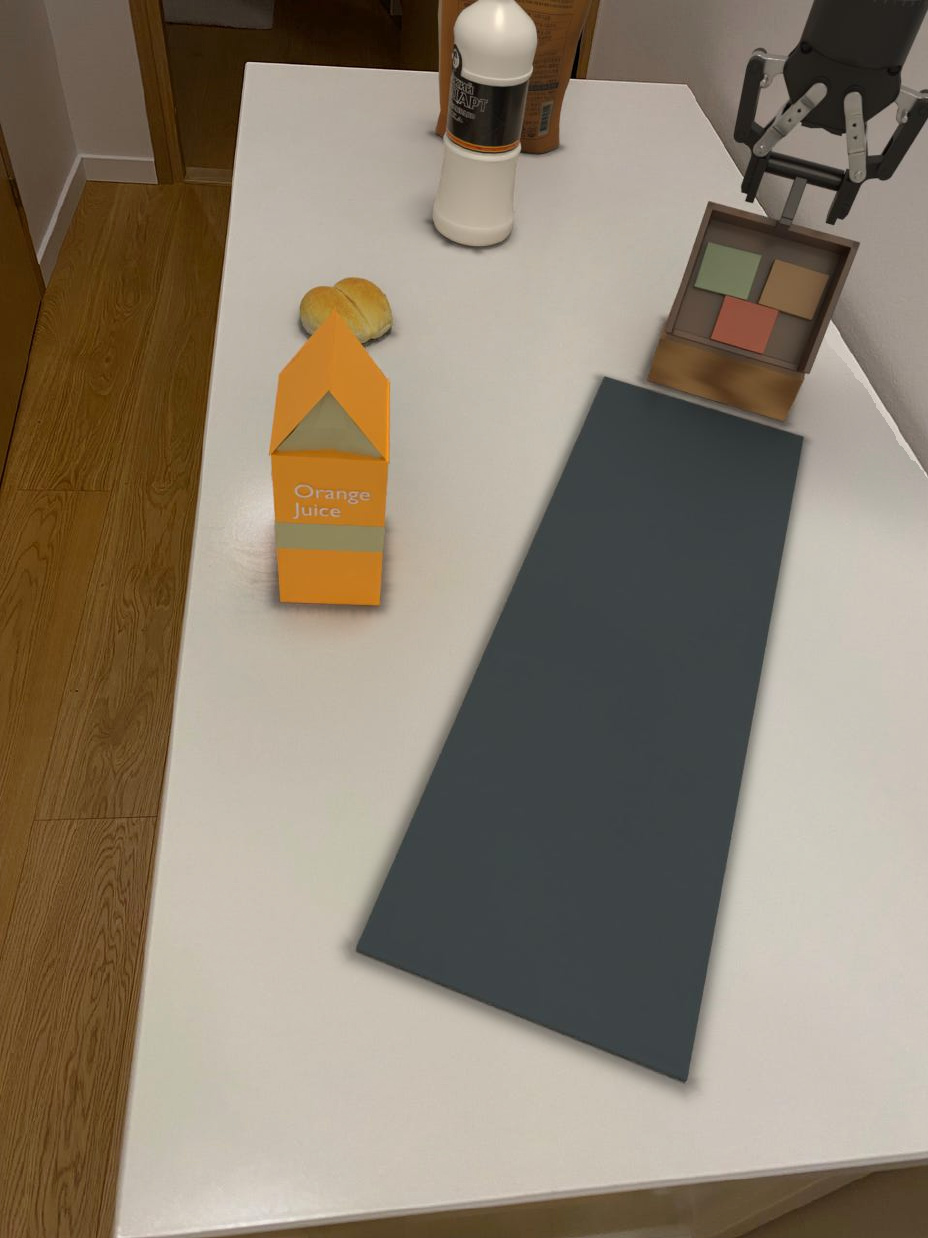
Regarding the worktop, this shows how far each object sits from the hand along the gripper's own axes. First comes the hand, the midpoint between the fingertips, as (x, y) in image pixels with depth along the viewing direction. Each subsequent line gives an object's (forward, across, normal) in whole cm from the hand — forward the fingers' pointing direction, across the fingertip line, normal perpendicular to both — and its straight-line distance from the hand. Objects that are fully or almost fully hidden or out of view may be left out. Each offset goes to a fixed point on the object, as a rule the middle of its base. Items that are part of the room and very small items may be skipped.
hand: (789, 208), depth 77 cm
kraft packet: (+9, -3, -4) cm, 11 cm away
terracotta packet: (+12, 0, -2) cm, 13 cm away
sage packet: (+9, +3, -4) cm, 10 cm away
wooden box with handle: (+9, 0, -5) cm, 10 cm away
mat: (+20, +1, +32) cm, 37 cm away
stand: (+20, 0, -6) cm, 21 cm away
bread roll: (+20, +37, +5) cm, 42 cm away
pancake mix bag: (+21, +36, -41) cm, 59 cm away
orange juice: (+20, +25, +35) cm, 47 cm away
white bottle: (+21, +32, -19) cm, 43 cm away
